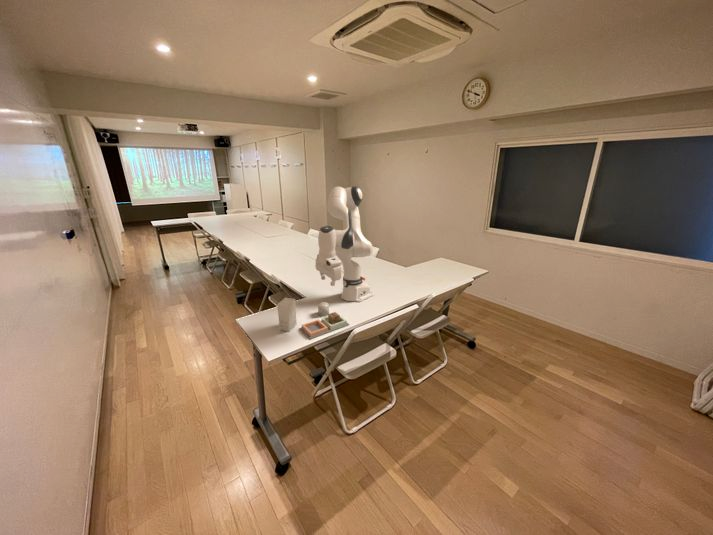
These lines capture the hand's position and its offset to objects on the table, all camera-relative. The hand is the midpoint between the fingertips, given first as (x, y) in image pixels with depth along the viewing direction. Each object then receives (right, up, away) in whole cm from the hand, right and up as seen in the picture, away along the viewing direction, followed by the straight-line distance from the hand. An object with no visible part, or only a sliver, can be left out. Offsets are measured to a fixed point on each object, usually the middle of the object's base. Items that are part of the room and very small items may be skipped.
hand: (327, 282), depth 147 cm
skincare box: (-21, -24, 0) cm, 32 cm away
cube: (+3, -23, +4) cm, 23 cm away
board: (-2, -24, +1) cm, 24 cm away
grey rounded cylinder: (-4, -19, +15) cm, 25 cm away
